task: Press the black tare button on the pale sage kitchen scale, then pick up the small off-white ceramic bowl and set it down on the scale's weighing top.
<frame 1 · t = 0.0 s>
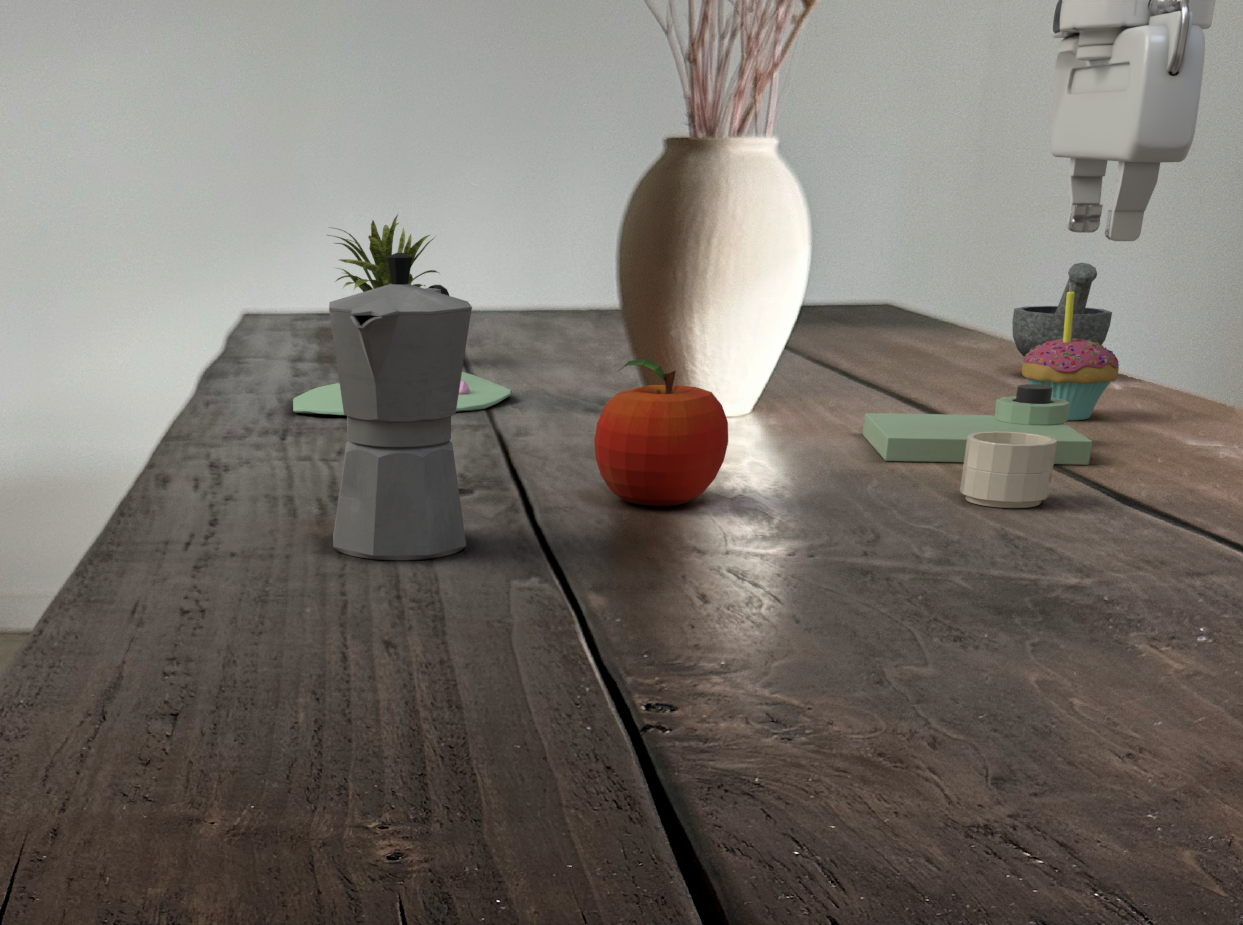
hand: (1100, 236, 112), 18 cm above the table, tool pointing down, fingers open, 8 cm apart
coffeepot: (404, 544, 112), on the table
fruit: (657, 504, 124), on the table
tare button: (1033, 395, 145), point 4 cm above the table, slide at 0.1 cm
house plant: (380, 365, 197), on the table
scale: (970, 449, 144), on the table
cupcake: (1061, 418, 160), on the table
bowl: (1002, 500, 124), on the table
mortar and pestle: (1054, 379, 185), on the table
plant: (397, 403, 170), on the table
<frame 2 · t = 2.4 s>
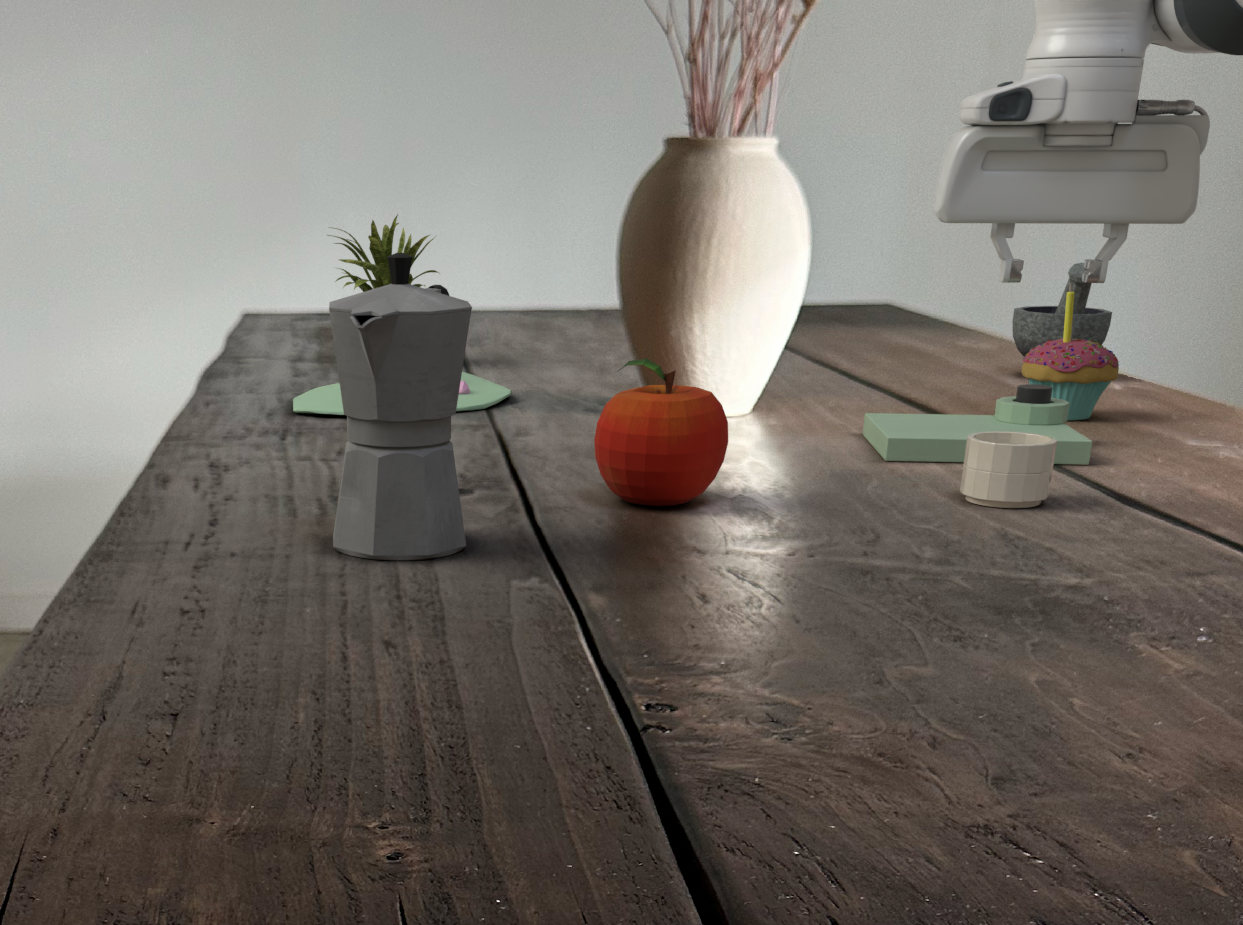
hand: (1051, 282, 142), 13 cm above the table, tool pointing down, fingers open, 5 cm apart
nothing on the table moved.
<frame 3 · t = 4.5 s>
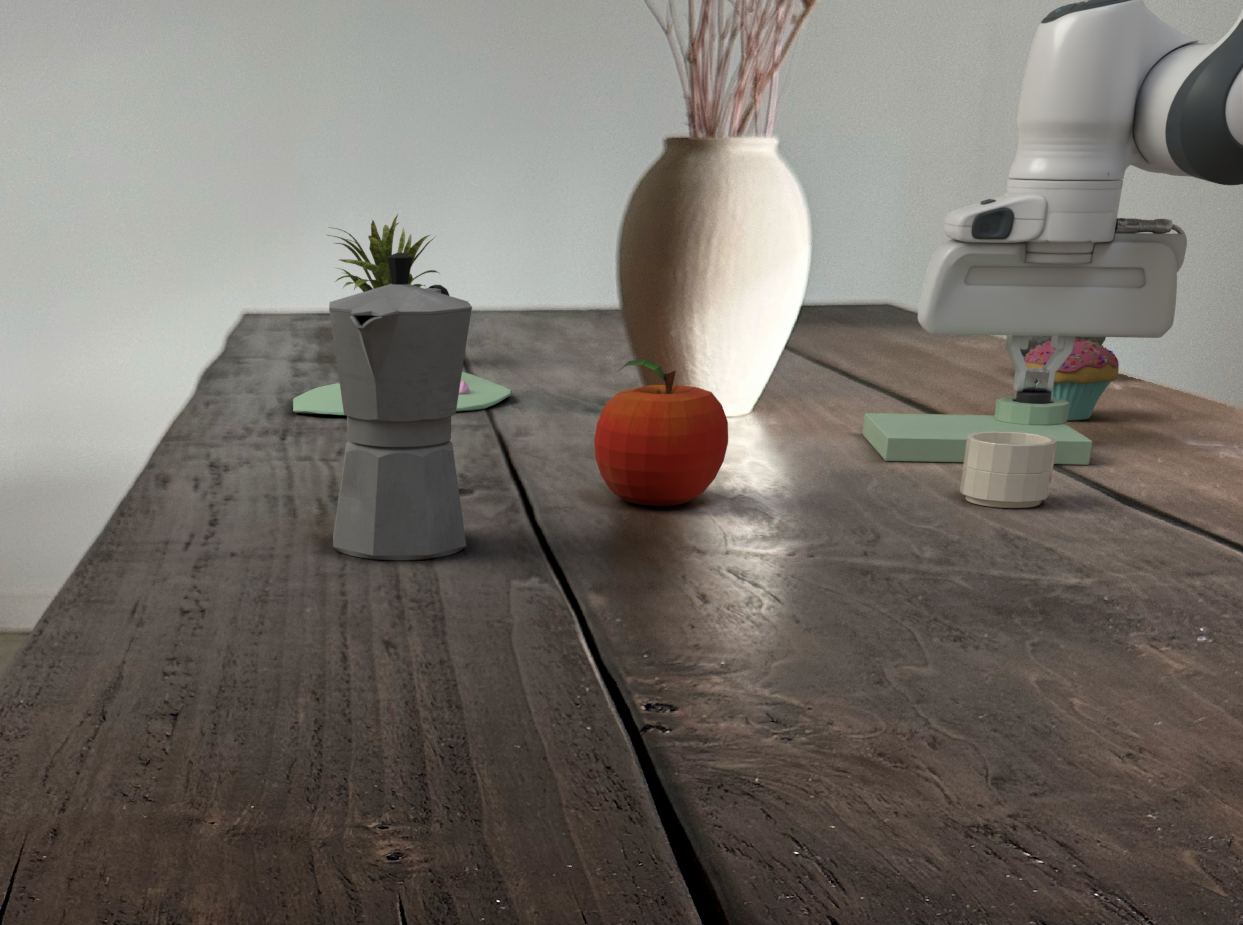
hand: (1032, 391, 145), 4 cm above the table, tool pointing down, fingers closed, pressing on tare button
tare button: (1032, 401, 146), point 3 cm above the table, slide at -0.3 cm, touching gripper
everything else where it was.
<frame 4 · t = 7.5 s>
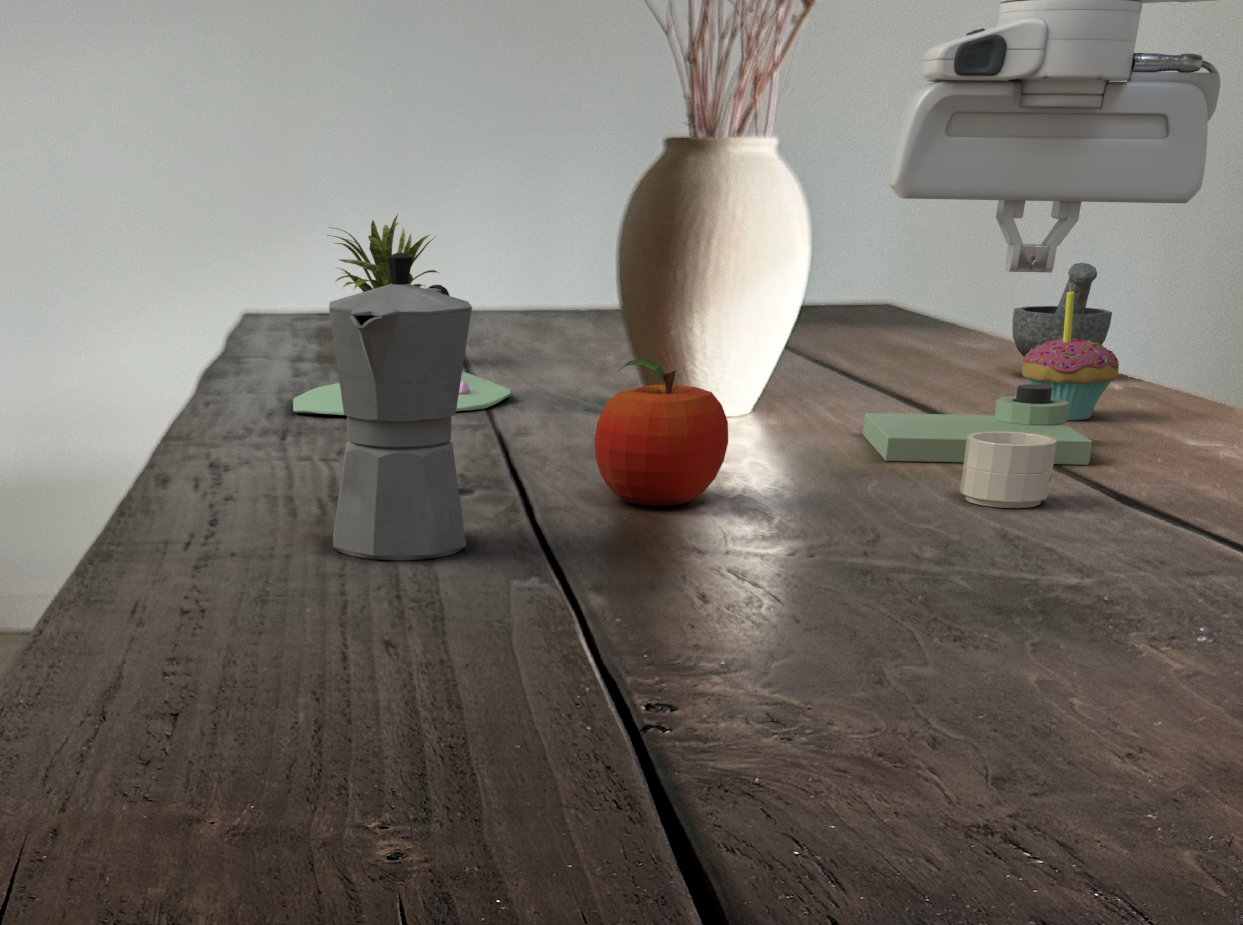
hand: (1028, 271, 119), 16 cm above the table, tool pointing down, fingers closed
tare button: (1033, 395, 145), point 4 cm above the table, slide at 0.1 cm
everything else where it was.
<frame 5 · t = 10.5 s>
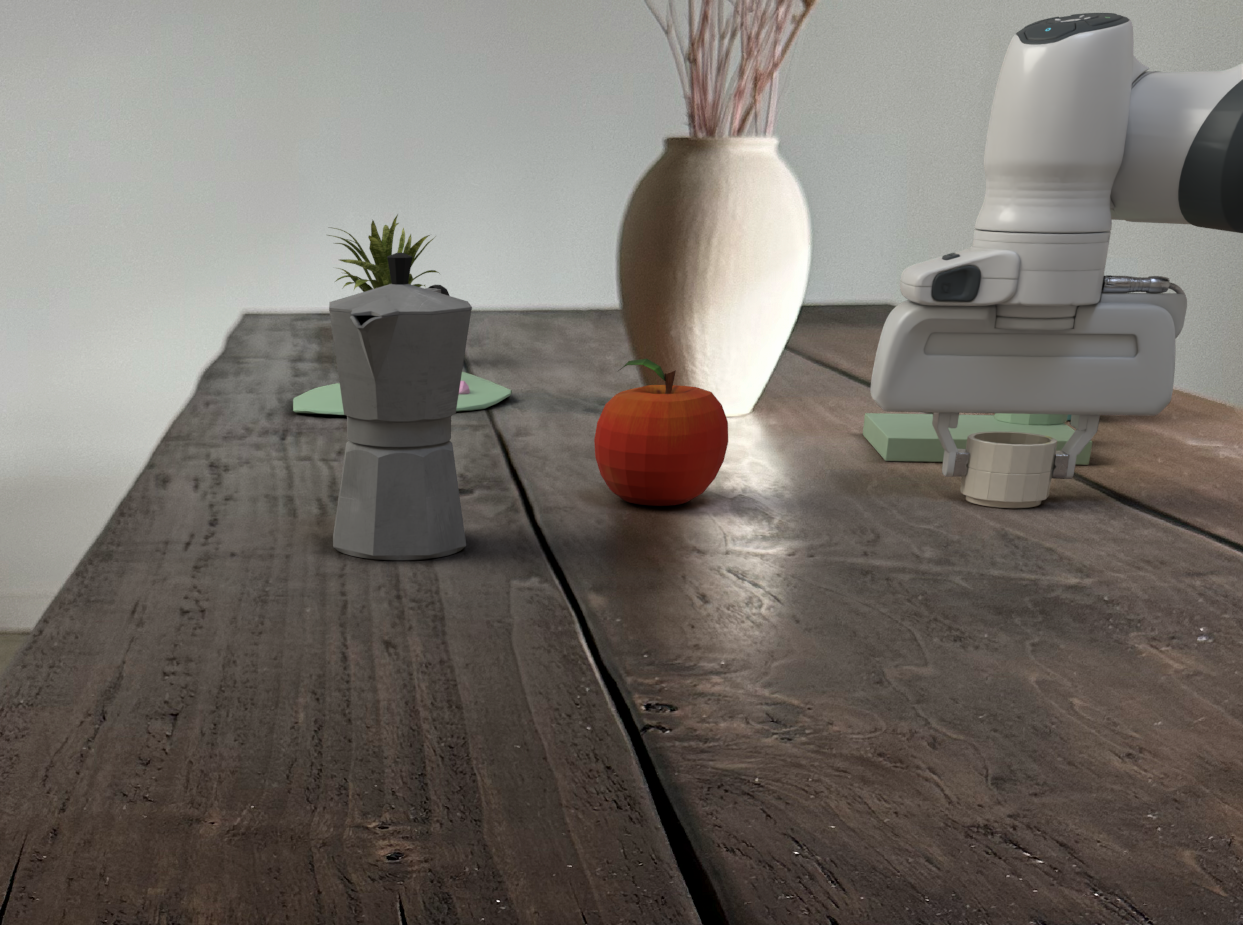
hand: (1005, 476, 123), 2 cm above the table, tool pointing down, fingers closed on bowl, 6 cm apart
bowl: (1002, 501, 124), on the table, touching gripper
everything else where it was.
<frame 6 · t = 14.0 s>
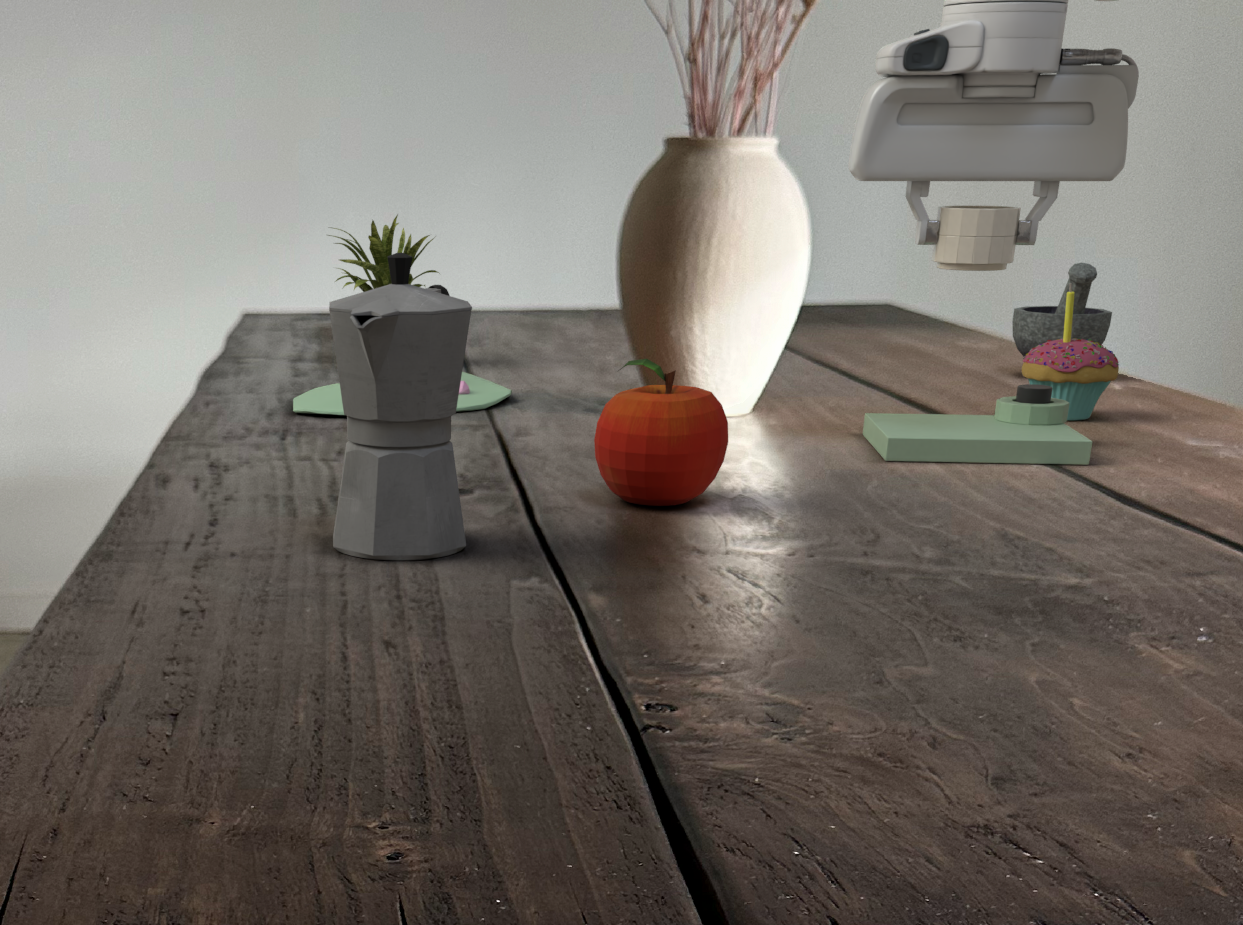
hand: (973, 244, 134), 16 cm above the table, tool pointing down, fingers closed on bowl, 6 cm apart
bowl: (971, 268, 134), point 15 cm above the table, touching gripper
everything else where it was.
when the fingers open (3 cm above the table, at t = 17.6 s): bowl stays where it is, resting on scale.
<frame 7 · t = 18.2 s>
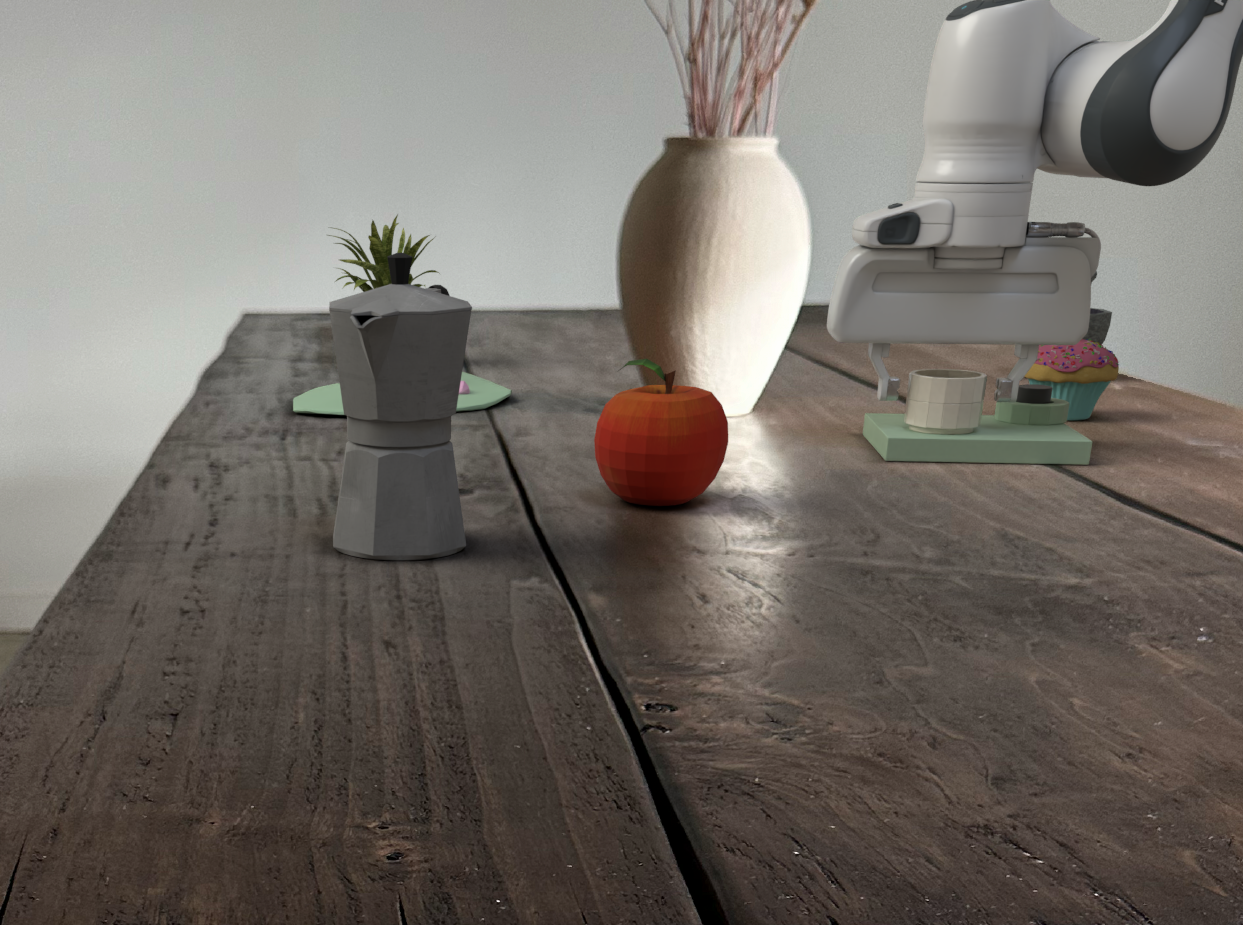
hand: (945, 400, 141), 4 cm above the table, tool pointing down, fingers open, 8 cm apart
bowl: (940, 429, 142), point 2 cm above the table, touching scale
everything else where it was.
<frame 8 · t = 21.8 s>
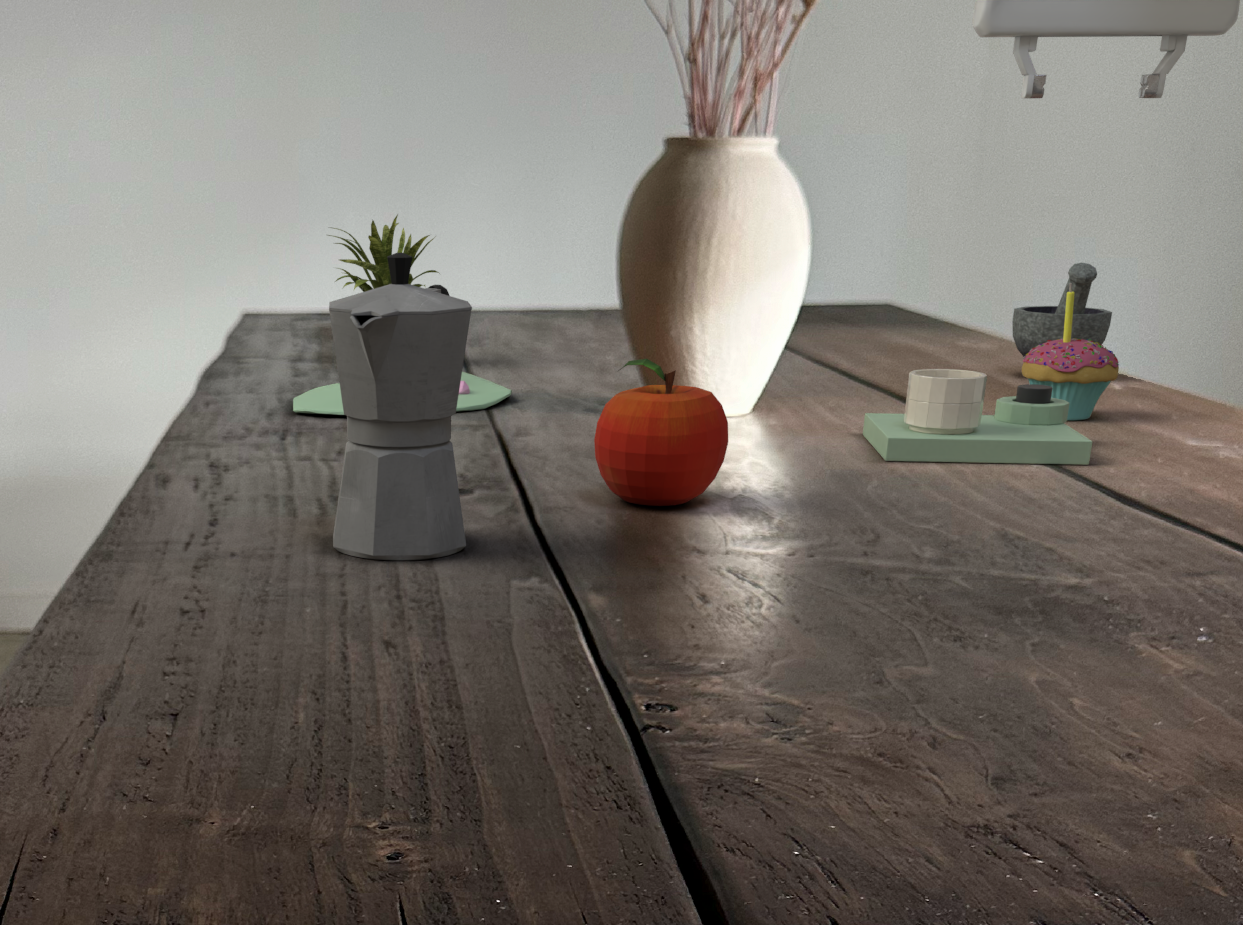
hand: (1090, 98, 141), 27 cm above the table, tool pointing down, fingers open, 8 cm apart
nothing on the table moved.
at the end: tare button pushed in 0.8 cm at the most during the clip, back to where it started at the end; bowl inside the target area on the scale (3.6 cm from its centre), point 1.9 cm above the scale's base; bowl tilted 0° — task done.
